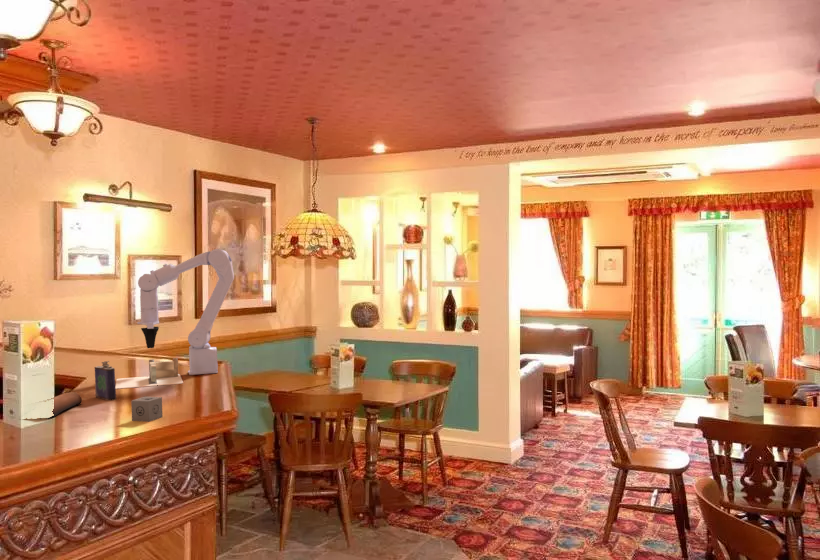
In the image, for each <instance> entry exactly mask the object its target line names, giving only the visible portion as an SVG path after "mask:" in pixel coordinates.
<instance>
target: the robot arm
mask: <svg viewBox="0 0 820 560" xmlns="http://www.w3.org/2000/svg"><path fill="white" fill-rule="evenodd" d="M199 266H211V267H213V269H214V270H215V272H216V274H217V276H218V277H217V278H218V279H217V282H216V284H215V286H214V288H213V290H212V293H211V296H210V297H209V299H208V302H207V304H206V306H205V307H204V310H203V313H202V315H201V317H200V319H199V320H198V322H197V323H196V326H195V328H194V329H192V331H190V333H189V334H188V335H187V341H188V343H189V345H190V346H189V347H188V348H189V349H188V354H189V355H188V357H189V358H188V359H189V360H188V361H189V370H187V373H188V375H189V376H193V375H203V374H204V375H206V374H218V373H219V371H218V370H219V369H218V368H219V364H218V363H219V362H218V349H217V346H211V344H210V343H209V342H210V341H211V331H212V330H213V326H214V323H215V321H216V318H217V317H218V314H219V312H220V311H221V308H222V306H223V304H224V301H225V300H226V296H227V295H228V293H229V291H230V289H231V287H232V284H233V281H234V280H235V273H234V267H233V259H232V257H231V256H230V254H229V253H228V251H226V250H224V249H220V248H214V249H212V250H211V251H209V250H208V251H205V252H202V253H199V254H197V255H195V256H193V257H190V258H188V259H186V260H184V261H183V262H181V263H179V264H177V265H174V264H172V263H169V264H167V263H165V264H163V265H162V267H160V268H158V269H156V270H150V271H149V273H144V274H143V275H141V276H140V277H139V279H138V280H137V285H138V288H139V290H140V293H139V294H140V296H139V298H140V301H139V303H140V306H139V307H140V321H137V323H136V324H137V325H144V326H146V327H141V328H140V329H141V331H142V333H143V335H144V339H145V340H144V341H145V344H146V349H154V348H155V344H156V337H157V334H158V332H159V328H160V327H159V326H155V325H159V324H160V321H159V320H160V319H159V296H158V288H159V287H162V286H164V285H167V284H169V283H171V282H173V281H176V280H178V279H179V277H180V274H182V273H185V272H187V271H189V270H192V269H194V268H197V267H199Z"/></svg>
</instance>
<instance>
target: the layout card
mask: <svg viewBox="0 0 820 560" xmlns="http://www.w3.org/2000/svg"><path fill="white" fill-rule="evenodd" d="M180 384H184V381H183V379H182V376H181V374H179V373H178V377H163V378H156V382H152V380H151V379H150V378H149V375H148V376H138V377H135V376H134V377H124V378H123V377H122V378H116V379H115V388H116V390H119V389H120V390H121V389H130V388H131V389H132V388H142V387H143V388H144V387H156V386H157V385H158V386H157V387H159V386H169V385H180Z"/></svg>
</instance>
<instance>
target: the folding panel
mask: <svg viewBox="0 0 820 560" xmlns="http://www.w3.org/2000/svg"><path fill="white" fill-rule="evenodd" d="M150 378H151V380H152V382H156V365H155V361H154V362H150Z"/></svg>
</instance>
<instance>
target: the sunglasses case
mask: <svg viewBox="0 0 820 560" xmlns="http://www.w3.org/2000/svg"><path fill="white" fill-rule="evenodd" d="M53 398H54V409H53V411H52V412H53V414H54V417H56V416H58V415H59V414H61V413H62V412H64V411H65V410H68V409H71V407H74V406H77V405H76V404H80V405H82V402H83V399H82V396H81V395H80V393H78V392H76V391H72V392H71V391H70V392H65V393H62V394H59V395H56V396H54V397H53Z"/></svg>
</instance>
